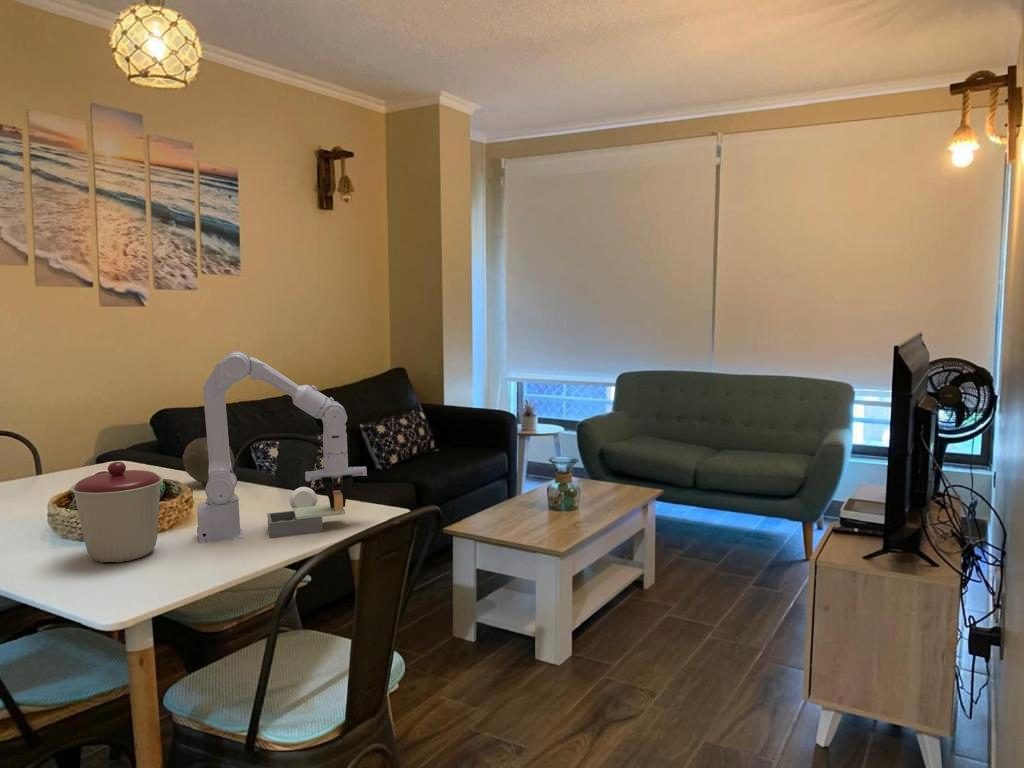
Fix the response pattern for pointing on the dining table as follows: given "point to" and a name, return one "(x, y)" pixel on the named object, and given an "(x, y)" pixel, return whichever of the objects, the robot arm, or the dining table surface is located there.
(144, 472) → the canister
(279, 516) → the tub
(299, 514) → the lid
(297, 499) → the supplement bottle
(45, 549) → the dining table surface
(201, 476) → the cantaloupe
